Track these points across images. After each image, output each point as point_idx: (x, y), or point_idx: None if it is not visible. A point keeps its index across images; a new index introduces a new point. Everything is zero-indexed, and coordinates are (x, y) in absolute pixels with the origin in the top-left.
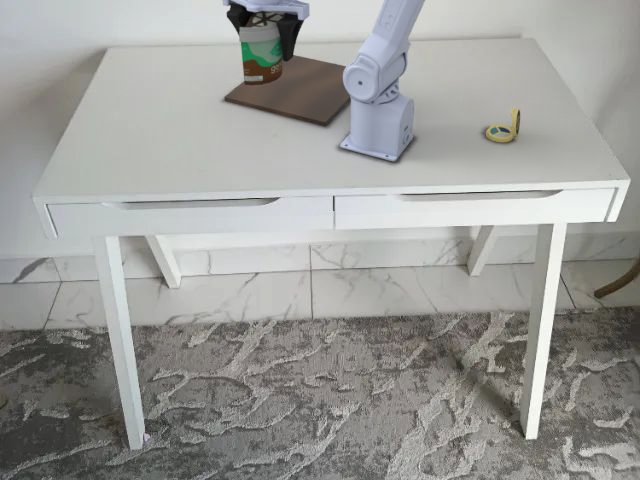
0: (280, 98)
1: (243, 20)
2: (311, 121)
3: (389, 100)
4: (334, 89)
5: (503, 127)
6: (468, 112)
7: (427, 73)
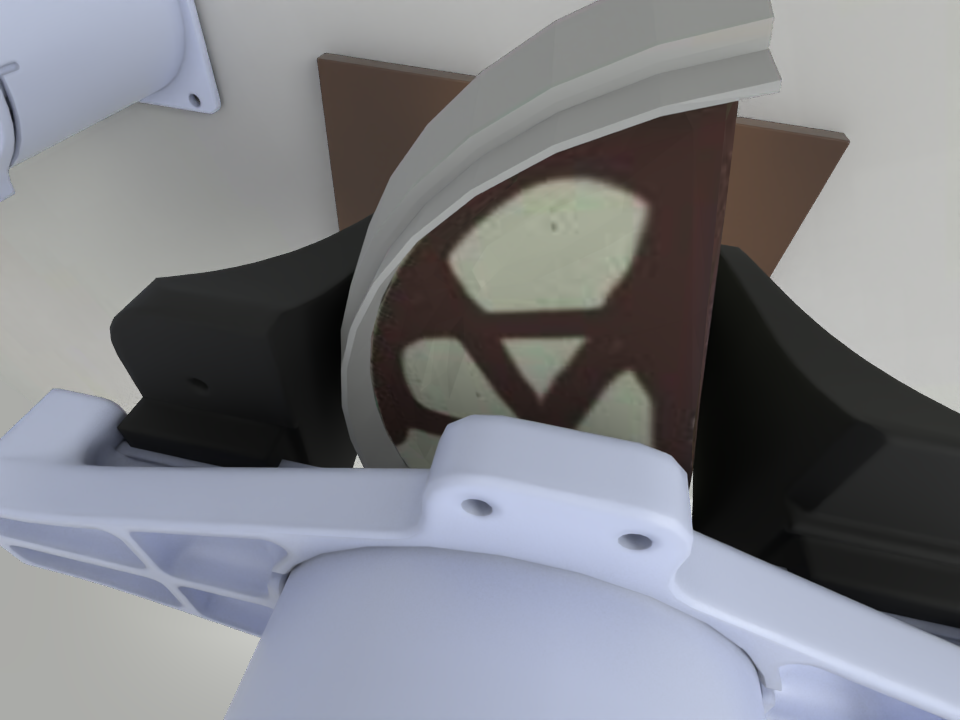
0: None
1: (774, 428)
2: (386, 64)
3: None
4: None
5: None
6: (56, 268)
7: None
